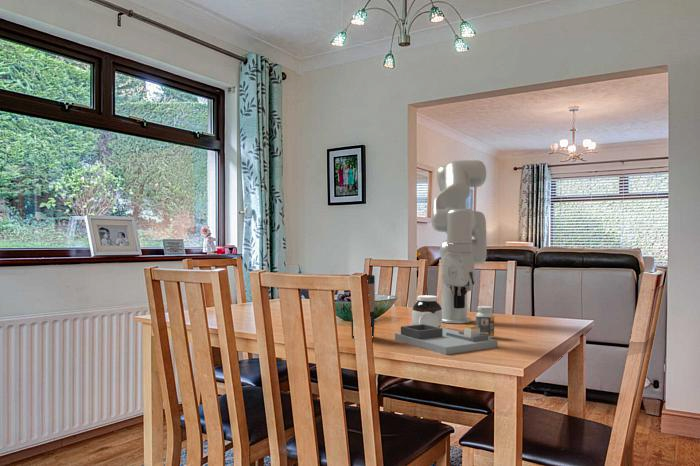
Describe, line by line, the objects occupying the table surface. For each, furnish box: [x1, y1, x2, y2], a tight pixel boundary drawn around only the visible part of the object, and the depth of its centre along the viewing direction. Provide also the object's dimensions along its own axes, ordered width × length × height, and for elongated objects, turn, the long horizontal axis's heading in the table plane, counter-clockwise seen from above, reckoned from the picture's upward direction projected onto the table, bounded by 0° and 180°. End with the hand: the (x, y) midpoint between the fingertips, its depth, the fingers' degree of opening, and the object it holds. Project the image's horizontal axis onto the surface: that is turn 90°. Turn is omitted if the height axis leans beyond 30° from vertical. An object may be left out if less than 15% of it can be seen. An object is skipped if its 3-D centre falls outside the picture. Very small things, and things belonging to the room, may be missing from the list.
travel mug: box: [350, 274, 376, 339], centre depth 169 cm, size 8×8×20 cm
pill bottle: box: [475, 305, 495, 339], centre depth 171 cm, size 6×6×10 cm
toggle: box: [463, 324, 480, 338], centre depth 158 cm, size 3×4×4 cm
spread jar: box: [411, 294, 443, 328], centre depth 183 cm, size 12×11×12 cm
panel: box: [394, 324, 498, 355], centre depth 161 cm, size 24×20×4 cm
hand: (459, 307), depth 163 cm, fingers closed
